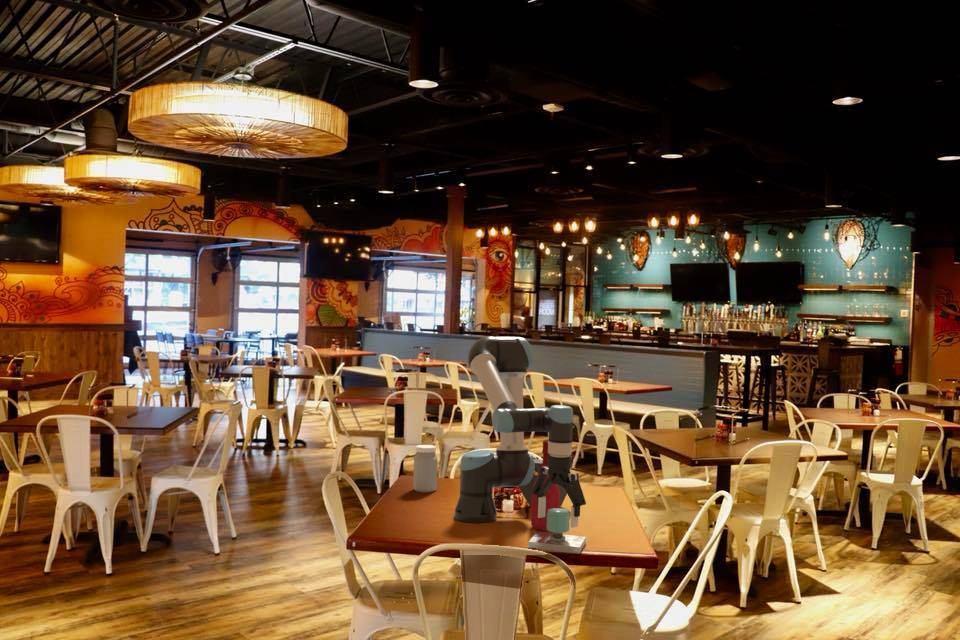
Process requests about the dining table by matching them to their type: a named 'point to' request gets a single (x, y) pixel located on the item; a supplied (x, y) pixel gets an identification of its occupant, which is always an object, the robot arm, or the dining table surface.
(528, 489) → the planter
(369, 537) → the dining table surface
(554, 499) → the wine bottle
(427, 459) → the jar
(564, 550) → the stud base
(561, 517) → the cap
